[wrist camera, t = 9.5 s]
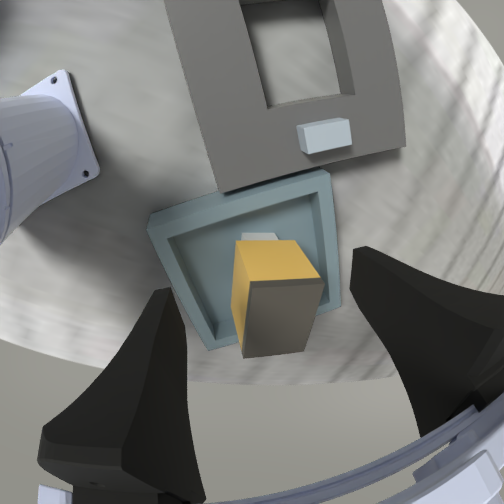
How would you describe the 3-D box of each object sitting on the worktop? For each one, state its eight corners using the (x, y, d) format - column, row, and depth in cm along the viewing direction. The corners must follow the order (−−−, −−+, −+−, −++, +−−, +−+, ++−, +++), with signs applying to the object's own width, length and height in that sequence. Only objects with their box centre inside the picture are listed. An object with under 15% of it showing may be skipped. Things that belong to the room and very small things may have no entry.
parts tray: (205, 330, 25) (208, 351, 23) (150, 214, 19) (146, 230, 17) (329, 289, 26) (340, 306, 24) (314, 164, 20) (329, 173, 17)
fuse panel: (216, 184, 19) (222, 200, 16) (156, -27, 10) (151, -47, 8) (390, 141, 20) (416, 150, 17) (350, -42, 11) (372, -54, 8)
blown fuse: (226, 290, 23) (243, 358, 17) (231, 227, 20) (252, 288, 14) (275, 287, 24) (303, 351, 18) (285, 227, 21) (324, 283, 15)
